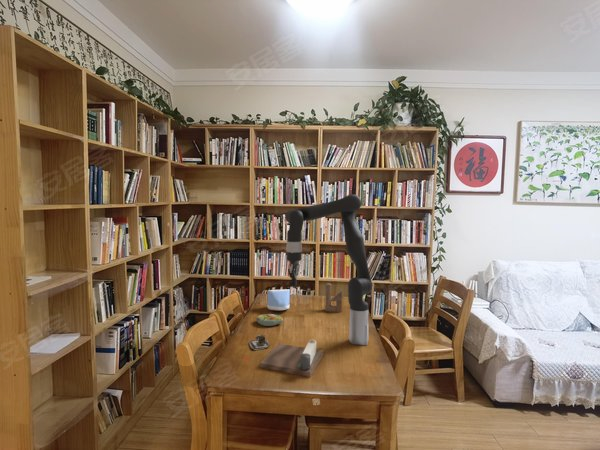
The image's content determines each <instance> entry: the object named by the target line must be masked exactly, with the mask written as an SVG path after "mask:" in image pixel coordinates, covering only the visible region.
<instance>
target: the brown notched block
mask: <svg viewBox="0 0 600 450" xmlns="http://www.w3.org/2000/svg"><path fill="white" fill-rule="evenodd" d="M332 302H336V303H335V305H334V304H332ZM324 311H325V312H331V313H333V312H334V313H342V312H343V289H341V290H340V291H339V292H337V293H336V294H335V295H334V296H333V297H332V284H331V283H330V282H329V283H325V307H324Z"/></svg>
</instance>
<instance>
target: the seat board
mask: <svg viewBox="0 0 600 450" xmlns="http://www.w3.org/2000/svg"><path fill="white" fill-rule="evenodd" d="M305 348H306V347H302V346H297V345H290V344H286V343H285V344H284V343H278V344H277V345H276V346H275V347H274V348H273V349H272V350H271V351H270V352H269V353H268V354H266V355H267V356H266V357H264V359H262V361H261V362H260V364H259V365H260V366H259V368H261V369H266V370H270V371H271V370H272V371H277V372H283V373H287V374H292V375H297V376H302V377H303V376H304V377H308V378H311V377H312V375H313V373H314V371H315V370H316V368H317V366H318V365H319V363H320V361H321V359H322V358H323V356H324V350H323V349H317V348H316V354H315V356H314V358H313V361H312V363H311V365H310V369H309V370H302V369H301V368H300V362H301V354H303V352H304V350H305Z"/></svg>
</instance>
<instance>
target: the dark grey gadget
mask: <svg viewBox="0 0 600 450" xmlns="http://www.w3.org/2000/svg"><path fill="white" fill-rule="evenodd" d="M249 346H250V348H251V349H252V350H254V351H259V350H260V351H261V350H264V349H267V348H269V347H270V342H269V340H268V339H266V336H265V334H257V335H255V339H253V340H250V341H249Z"/></svg>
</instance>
